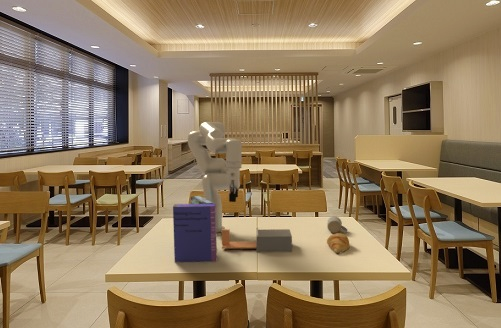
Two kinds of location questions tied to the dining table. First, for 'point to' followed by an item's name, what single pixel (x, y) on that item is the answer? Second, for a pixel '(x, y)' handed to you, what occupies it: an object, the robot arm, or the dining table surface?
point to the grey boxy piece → (274, 240)
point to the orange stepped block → (228, 244)
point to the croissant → (338, 242)
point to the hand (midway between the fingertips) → (233, 199)
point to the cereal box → (195, 232)
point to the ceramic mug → (335, 225)
